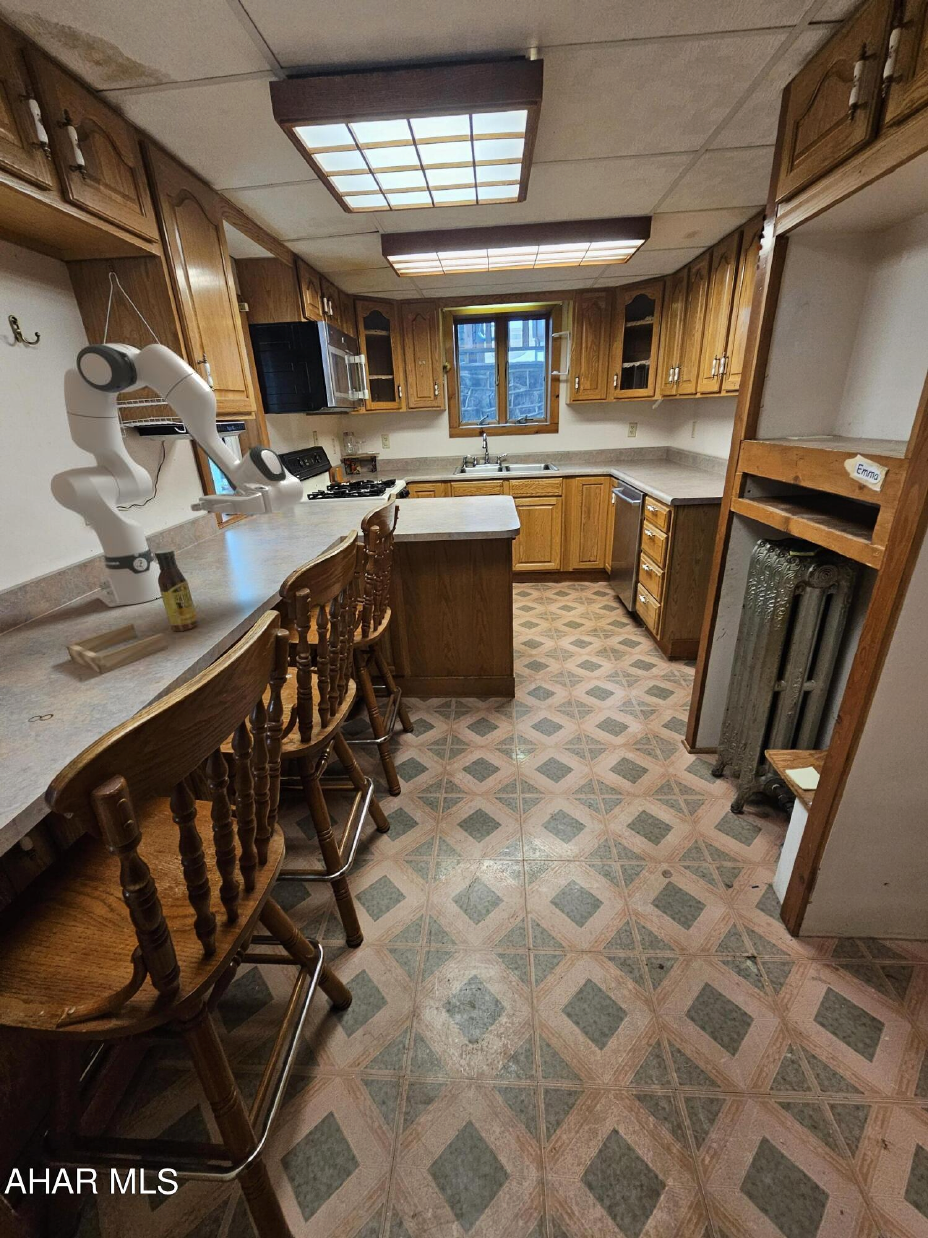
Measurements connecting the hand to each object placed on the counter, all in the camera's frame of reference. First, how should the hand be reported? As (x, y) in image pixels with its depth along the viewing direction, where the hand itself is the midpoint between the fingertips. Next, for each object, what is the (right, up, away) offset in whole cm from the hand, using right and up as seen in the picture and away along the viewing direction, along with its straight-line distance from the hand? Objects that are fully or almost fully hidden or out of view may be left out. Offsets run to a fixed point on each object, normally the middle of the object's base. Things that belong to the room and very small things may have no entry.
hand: (202, 508), depth 121 cm
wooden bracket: (-13, -36, -11) cm, 39 cm away
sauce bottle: (-5, -30, +2) cm, 30 cm away
